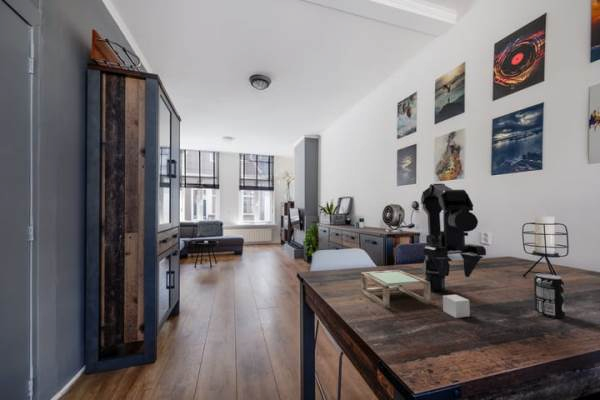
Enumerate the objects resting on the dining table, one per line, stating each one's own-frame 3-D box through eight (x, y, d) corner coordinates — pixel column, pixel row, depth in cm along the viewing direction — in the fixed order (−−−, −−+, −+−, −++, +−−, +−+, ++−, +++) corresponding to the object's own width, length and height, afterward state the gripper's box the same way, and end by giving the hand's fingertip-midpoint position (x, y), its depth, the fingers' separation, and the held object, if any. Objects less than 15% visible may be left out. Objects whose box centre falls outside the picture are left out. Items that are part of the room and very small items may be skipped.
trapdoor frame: (400, 287, 102) (399, 269, 102) (431, 304, 85) (430, 282, 85) (360, 291, 98) (360, 272, 98) (385, 308, 81) (384, 285, 81)
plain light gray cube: (456, 309, 80) (455, 294, 80) (469, 316, 75) (469, 300, 75) (443, 311, 79) (442, 295, 79) (456, 318, 74) (455, 301, 74)
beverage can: (556, 311, 78) (554, 273, 79) (570, 320, 72) (569, 279, 73) (530, 308, 81) (529, 272, 81) (542, 317, 74) (541, 277, 75)
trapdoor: (398, 274, 99) (397, 271, 99) (420, 283, 87) (420, 280, 87) (368, 276, 96) (368, 273, 96) (387, 286, 84) (387, 283, 84)
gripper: (457, 226, 88) (458, 269, 87) (411, 227, 84) (412, 273, 83) (486, 228, 77) (488, 278, 77) (436, 230, 73) (437, 282, 73)
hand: (455, 277), depth 78 cm, fingers open, 9 cm apart
